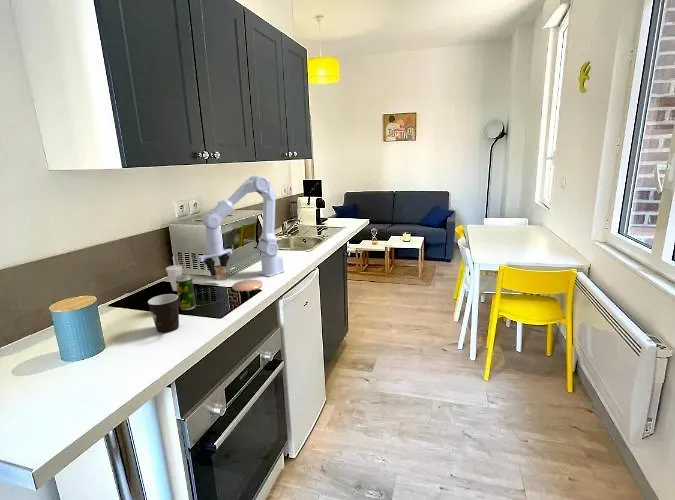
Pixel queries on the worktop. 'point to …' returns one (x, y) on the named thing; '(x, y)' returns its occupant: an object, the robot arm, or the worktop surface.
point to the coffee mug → (165, 312)
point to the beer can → (185, 292)
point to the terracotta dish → (247, 285)
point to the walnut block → (219, 272)
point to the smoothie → (174, 274)
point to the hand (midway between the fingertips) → (218, 273)
